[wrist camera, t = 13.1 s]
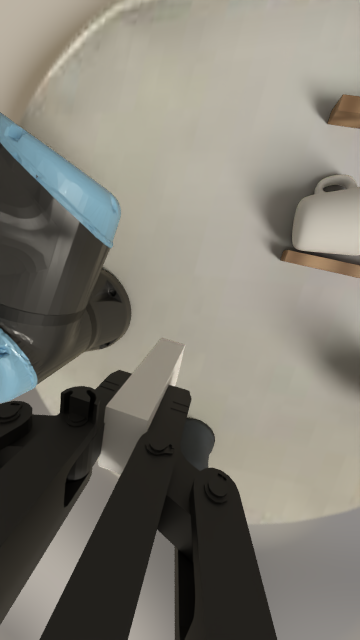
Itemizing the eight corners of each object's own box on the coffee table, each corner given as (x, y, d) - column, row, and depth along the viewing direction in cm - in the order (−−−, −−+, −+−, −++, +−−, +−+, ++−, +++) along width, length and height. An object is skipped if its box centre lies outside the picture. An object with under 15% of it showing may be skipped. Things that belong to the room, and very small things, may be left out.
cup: (304, 154, 28) (383, 146, 26) (291, 200, 36) (352, 197, 33) (300, 234, 26) (385, 232, 24) (287, 265, 34) (351, 266, 31)
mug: (221, 429, 46) (219, 482, 35) (206, 461, 49) (199, 518, 38) (165, 406, 47) (147, 450, 36) (154, 438, 50) (134, 488, 39)
